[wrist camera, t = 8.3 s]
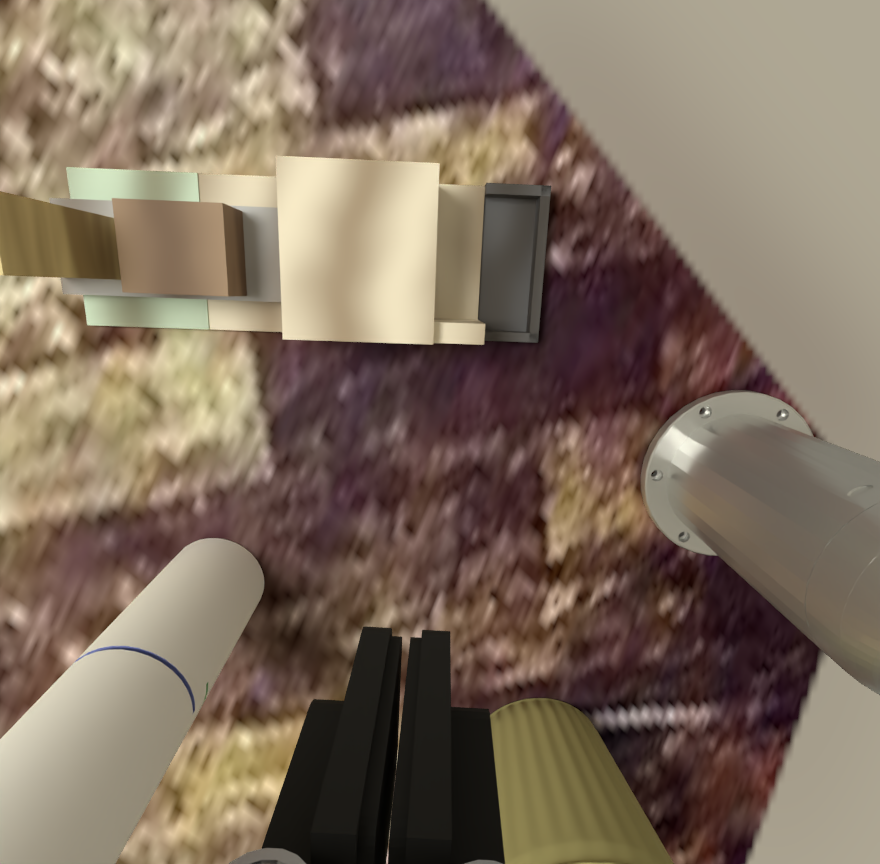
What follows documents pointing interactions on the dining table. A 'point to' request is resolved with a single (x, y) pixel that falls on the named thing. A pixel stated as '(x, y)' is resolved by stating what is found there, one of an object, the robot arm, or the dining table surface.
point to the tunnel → (359, 253)
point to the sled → (143, 247)
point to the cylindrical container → (123, 711)
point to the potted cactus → (564, 791)
